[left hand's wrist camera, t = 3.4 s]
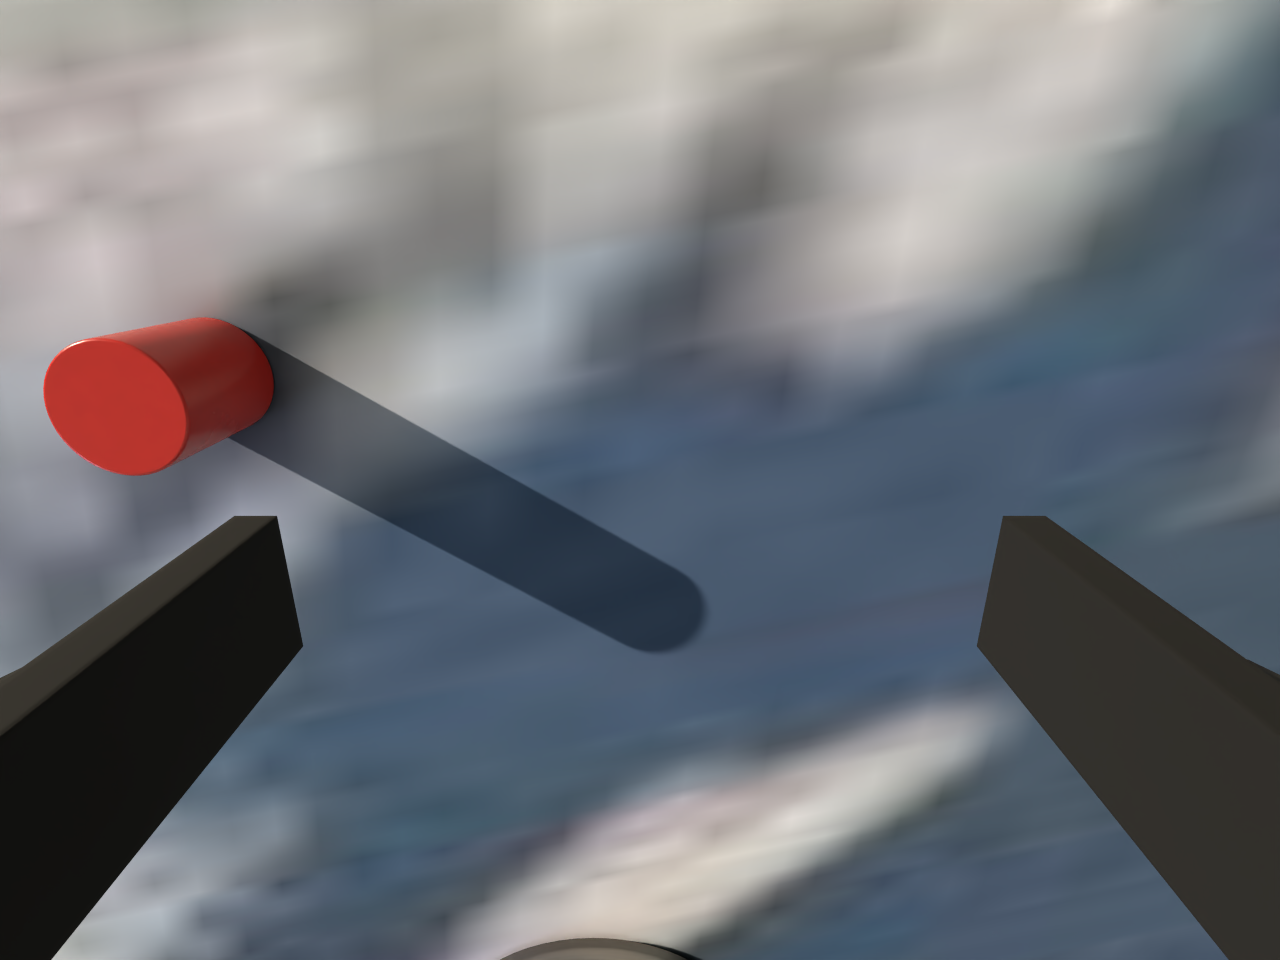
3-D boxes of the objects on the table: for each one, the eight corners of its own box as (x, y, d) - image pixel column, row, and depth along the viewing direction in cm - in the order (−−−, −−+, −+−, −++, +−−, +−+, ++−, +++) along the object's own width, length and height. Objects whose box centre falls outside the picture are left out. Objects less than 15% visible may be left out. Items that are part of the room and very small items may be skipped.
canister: (208, 449, 24) (109, 498, 20) (133, 350, 23) (10, 379, 18) (298, 400, 23) (217, 439, 19) (225, 296, 22) (121, 312, 18)
